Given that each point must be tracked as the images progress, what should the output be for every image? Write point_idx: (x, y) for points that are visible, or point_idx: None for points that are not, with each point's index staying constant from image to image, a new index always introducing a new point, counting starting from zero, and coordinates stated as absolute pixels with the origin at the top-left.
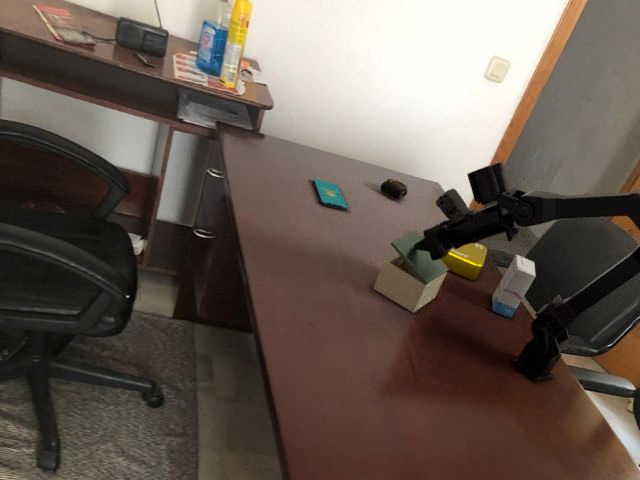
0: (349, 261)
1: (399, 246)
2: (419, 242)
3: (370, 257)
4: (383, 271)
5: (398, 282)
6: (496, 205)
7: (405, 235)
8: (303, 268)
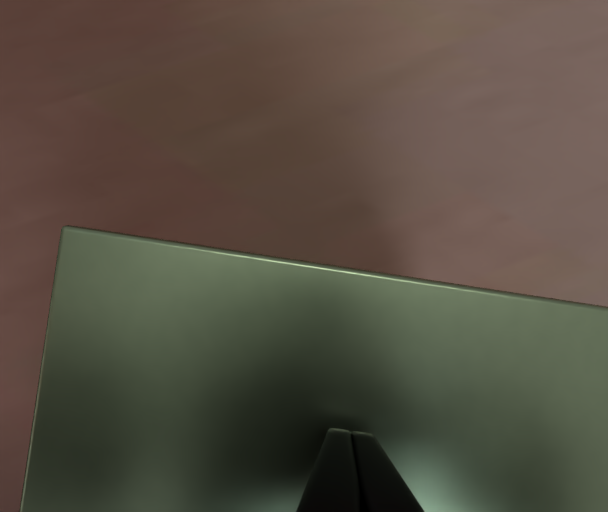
0: (321, 149)
1: (93, 319)
2: (301, 502)
3: (470, 204)
4: None
5: None
6: None
7: (394, 276)
8: (47, 37)
